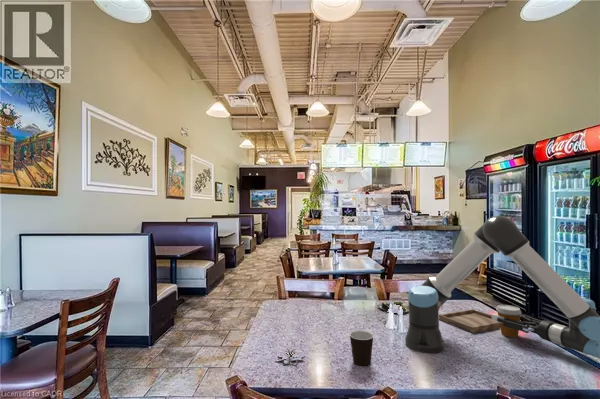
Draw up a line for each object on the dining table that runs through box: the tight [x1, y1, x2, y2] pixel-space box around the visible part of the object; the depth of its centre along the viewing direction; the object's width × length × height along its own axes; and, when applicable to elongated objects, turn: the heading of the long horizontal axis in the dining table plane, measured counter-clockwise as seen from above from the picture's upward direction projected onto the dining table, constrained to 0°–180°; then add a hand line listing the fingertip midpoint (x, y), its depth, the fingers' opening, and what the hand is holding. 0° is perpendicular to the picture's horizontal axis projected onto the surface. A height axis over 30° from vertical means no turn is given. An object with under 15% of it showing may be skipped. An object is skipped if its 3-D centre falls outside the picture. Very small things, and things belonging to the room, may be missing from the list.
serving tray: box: [439, 308, 501, 334], centre depth 155 cm, size 24×20×2 cm
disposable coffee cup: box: [495, 304, 522, 338], centre depth 139 cm, size 10×10×12 cm
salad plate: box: [376, 300, 409, 315], centre depth 180 cm, size 19×18×5 cm
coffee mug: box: [349, 330, 374, 368], centre depth 116 cm, size 12×9×10 cm
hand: (498, 315), depth 143 cm, fingers closed on disposable coffee cup, 8 cm apart
